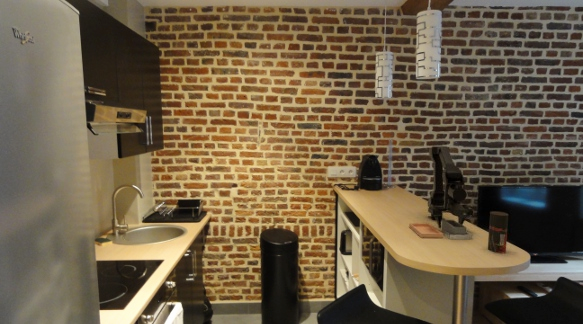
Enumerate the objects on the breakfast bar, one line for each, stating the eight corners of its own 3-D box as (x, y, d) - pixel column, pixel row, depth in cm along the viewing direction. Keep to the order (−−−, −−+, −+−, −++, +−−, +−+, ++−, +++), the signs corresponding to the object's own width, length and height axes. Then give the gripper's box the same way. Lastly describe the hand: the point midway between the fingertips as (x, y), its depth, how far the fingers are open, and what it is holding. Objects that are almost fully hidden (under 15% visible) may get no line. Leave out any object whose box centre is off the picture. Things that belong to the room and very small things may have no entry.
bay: (441, 232, 136) (441, 228, 135) (462, 233, 135) (462, 229, 135) (449, 239, 128) (450, 234, 128) (472, 239, 127) (472, 234, 127)
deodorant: (498, 253, 112) (500, 216, 111) (484, 248, 118) (486, 212, 116) (509, 252, 114) (512, 214, 112) (495, 246, 119) (497, 210, 118)
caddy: (441, 230, 140) (442, 219, 139) (453, 230, 139) (453, 220, 139) (453, 238, 129) (453, 227, 128) (465, 238, 128) (466, 227, 128)
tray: (409, 227, 144) (409, 223, 144) (428, 227, 144) (428, 223, 144) (421, 238, 129) (421, 233, 129) (442, 238, 129) (443, 233, 129)
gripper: (438, 200, 128) (437, 234, 130) (482, 200, 127) (480, 234, 129) (428, 194, 139) (426, 226, 141) (467, 194, 138) (466, 226, 140)
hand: (449, 228), depth 137 cm, fingers open, 9 cm apart
